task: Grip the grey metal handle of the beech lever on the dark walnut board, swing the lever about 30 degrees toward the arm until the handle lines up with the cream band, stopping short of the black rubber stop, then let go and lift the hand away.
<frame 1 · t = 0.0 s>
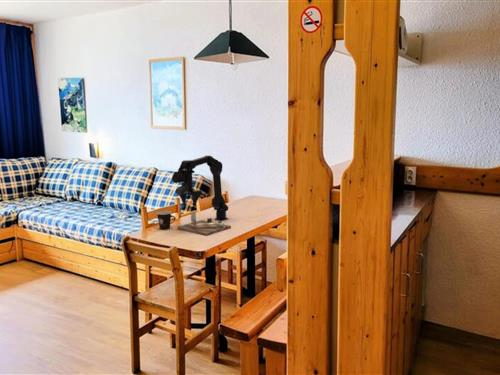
hand: (189, 205, 275), 15 cm above the table, tool pointing down, fingers open, 9 cm apart
lever: (207, 219, 271), point 7 cm above the table, hinge at 0.0°
nutcracker board: (204, 228, 276), on the table
coffee mug: (166, 229, 278), on the table
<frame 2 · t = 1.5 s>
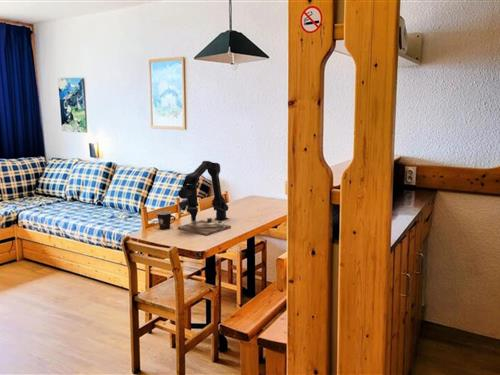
hand: (193, 220, 270), 7 cm above the table, tool pointing down, fingers closed on lever, 3 cm apart
lever: (207, 219, 271), point 7 cm above the table, hinge at 0.0°, touching gripper
everything else where it was.
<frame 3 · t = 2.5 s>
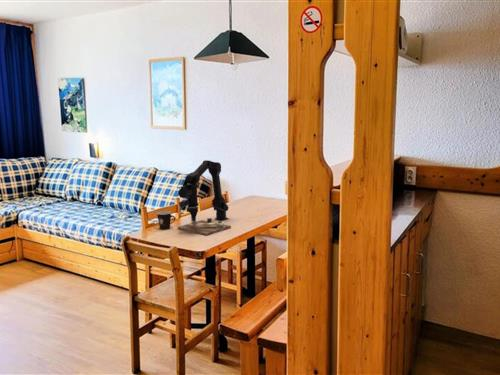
hand: (193, 220, 271), 6 cm above the table, tool pointing down, fingers open, 4 cm apart
lever: (207, 219, 271), point 7 cm above the table, hinge at 1.7°, touching gripper
everything else where it was.
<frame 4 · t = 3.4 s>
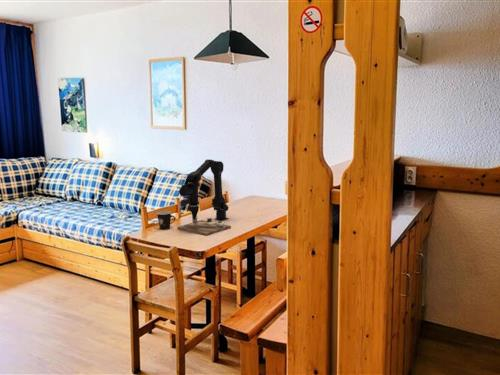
hand: (194, 218, 275), 7 cm above the table, tool pointing down, fingers open, 4 cm apart
lever: (207, 218, 273), point 7 cm above the table, hinge at 14.5°, touching gripper
everything else where it was.
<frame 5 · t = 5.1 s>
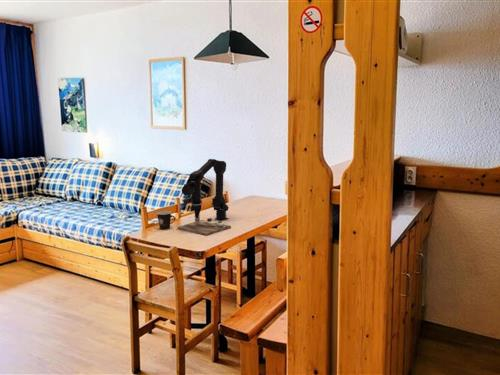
hand: (197, 217, 278), 7 cm above the table, tool pointing down, fingers closed on lever, 3 cm apart
lever: (208, 218, 275), point 7 cm above the table, hinge at 28.3°, touching gripper
everything else where it was.
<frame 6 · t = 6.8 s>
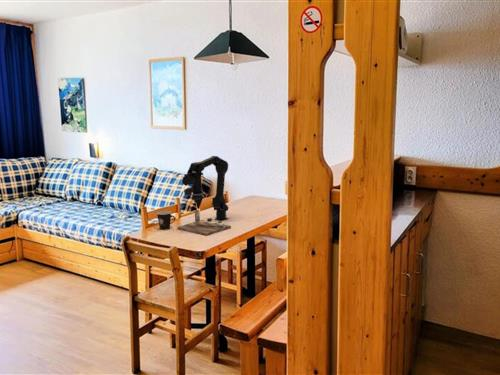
hand: (198, 207, 279), 13 cm above the table, tool pointing down, fingers open, 9 cm apart
lever: (208, 218, 275), point 7 cm above the table, hinge at 28.7°
everything else where it was.
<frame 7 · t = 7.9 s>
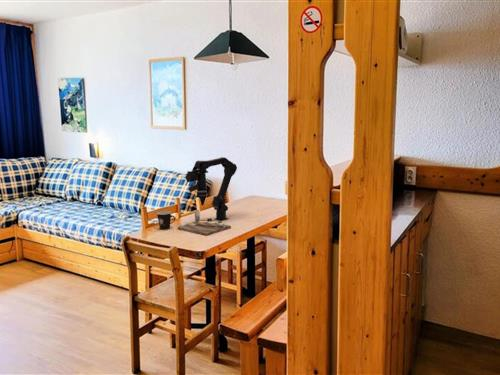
hand: (202, 203, 287), 13 cm above the table, tool pointing down, fingers open, 9 cm apart
nothing on the table moved.
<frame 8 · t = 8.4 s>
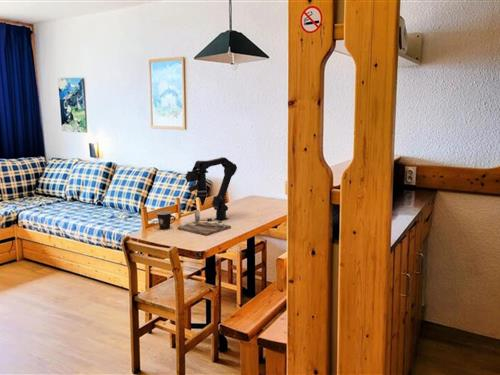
hand: (202, 203, 287), 13 cm above the table, tool pointing down, fingers open, 9 cm apart
nothing on the table moved.
at the end: lever at +29° (first picture: +0°); the gripper is holding nothing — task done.
